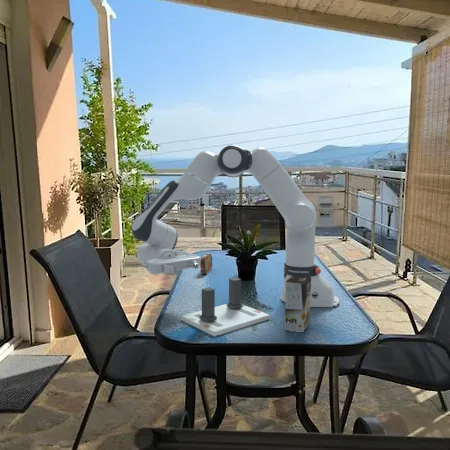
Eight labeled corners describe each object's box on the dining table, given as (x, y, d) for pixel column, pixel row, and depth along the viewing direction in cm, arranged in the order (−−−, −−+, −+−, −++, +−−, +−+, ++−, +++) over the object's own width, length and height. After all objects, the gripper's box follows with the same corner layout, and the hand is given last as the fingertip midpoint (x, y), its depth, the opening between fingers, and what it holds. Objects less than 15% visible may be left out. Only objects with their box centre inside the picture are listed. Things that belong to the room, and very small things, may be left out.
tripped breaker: (199, 319, 140) (199, 288, 139) (209, 316, 143) (209, 286, 141) (206, 322, 137) (206, 291, 136) (216, 319, 140) (216, 289, 138)
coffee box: (304, 333, 133) (305, 283, 131) (284, 330, 136) (285, 281, 134) (309, 323, 142) (311, 276, 140) (290, 320, 144) (292, 274, 142)
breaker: (226, 306, 153) (227, 278, 151) (235, 304, 155) (235, 277, 154) (234, 309, 150) (234, 281, 148) (242, 307, 152) (243, 279, 151)
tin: (205, 276, 202) (205, 258, 200) (199, 275, 202) (199, 258, 201) (212, 268, 216) (212, 252, 215) (206, 268, 217) (206, 251, 216)
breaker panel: (181, 320, 144) (181, 315, 144) (235, 305, 160) (235, 301, 159) (214, 336, 131) (214, 331, 130) (269, 319, 146) (269, 314, 146)
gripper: (139, 255, 151) (159, 263, 140) (187, 249, 164) (209, 255, 153) (139, 273, 152) (160, 281, 141) (187, 265, 165) (209, 272, 154)
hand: (186, 268), depth 147 cm, fingers open, 8 cm apart
